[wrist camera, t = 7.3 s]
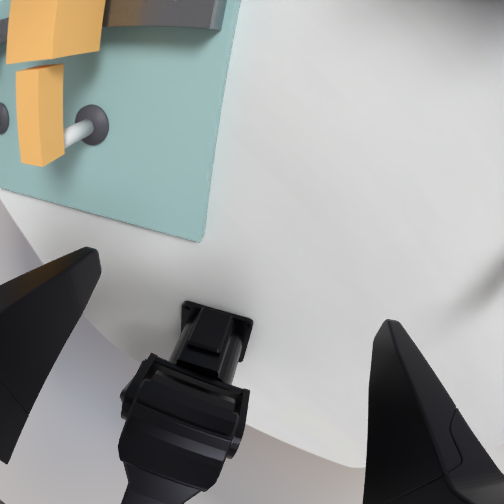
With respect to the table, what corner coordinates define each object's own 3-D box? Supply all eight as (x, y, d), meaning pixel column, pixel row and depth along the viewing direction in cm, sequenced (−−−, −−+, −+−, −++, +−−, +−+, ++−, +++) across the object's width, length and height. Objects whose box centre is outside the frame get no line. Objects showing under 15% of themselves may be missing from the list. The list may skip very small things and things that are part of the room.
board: (204, 235, 24) (198, 244, 23) (3, 182, 25) (-6, 187, 24) (248, -34, 13) (243, -39, 12) (-3, 1, 14) (-13, 3, 13)
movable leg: (109, 138, 19) (55, 171, 15) (66, 132, 19) (11, 162, 15) (125, -24, 12) (63, -35, 8) (76, -16, 13) (13, -18, 8)
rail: (221, 30, 15) (209, 28, 13) (-12, 46, 16) (-29, 51, 14) (227, -1, 14) (216, -7, 12) (-11, 26, 15) (-28, 29, 13)
